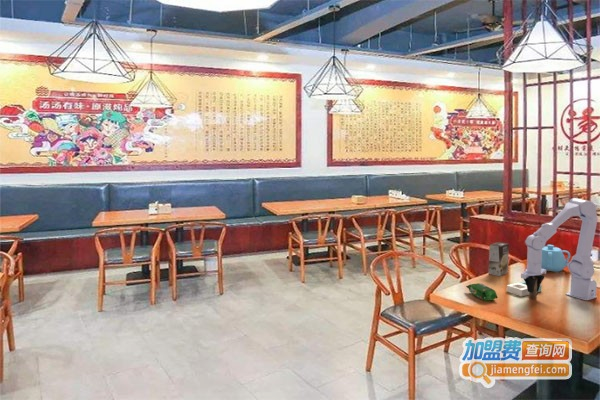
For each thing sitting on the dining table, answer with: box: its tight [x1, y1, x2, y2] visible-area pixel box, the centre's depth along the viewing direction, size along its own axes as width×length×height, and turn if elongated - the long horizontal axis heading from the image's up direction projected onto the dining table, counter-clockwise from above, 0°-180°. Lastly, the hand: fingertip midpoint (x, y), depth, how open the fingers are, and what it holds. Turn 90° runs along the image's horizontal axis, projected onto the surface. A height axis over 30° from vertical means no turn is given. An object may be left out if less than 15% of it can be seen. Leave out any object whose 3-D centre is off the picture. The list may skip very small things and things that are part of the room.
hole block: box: [506, 280, 542, 297], centre depth 210 cm, size 8×14×3 cm, turn 117°
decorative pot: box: [541, 244, 571, 273], centre depth 242 cm, size 16×16×14 cm
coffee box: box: [488, 241, 510, 277], centre depth 238 cm, size 9×6×16 cm
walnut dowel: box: [528, 277, 538, 300], centre depth 201 cm, size 3×3×9 cm
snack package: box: [465, 283, 498, 301], centre depth 205 cm, size 7×16×5 cm, turn 11°
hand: (533, 291), depth 202 cm, fingers closed on walnut dowel, 3 cm apart
